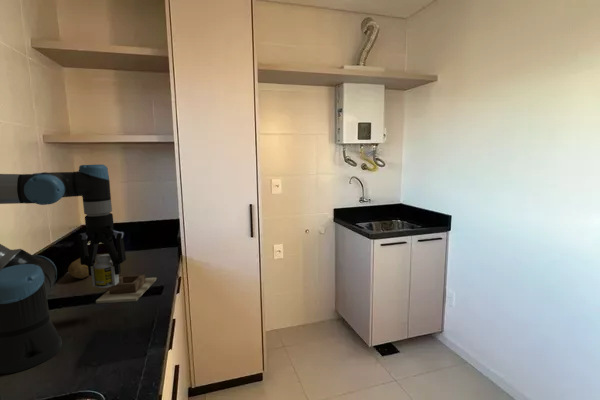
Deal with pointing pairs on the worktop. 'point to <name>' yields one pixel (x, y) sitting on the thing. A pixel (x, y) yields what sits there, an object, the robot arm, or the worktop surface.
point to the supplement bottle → (103, 271)
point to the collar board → (127, 289)
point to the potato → (78, 269)
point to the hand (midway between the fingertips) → (106, 284)
